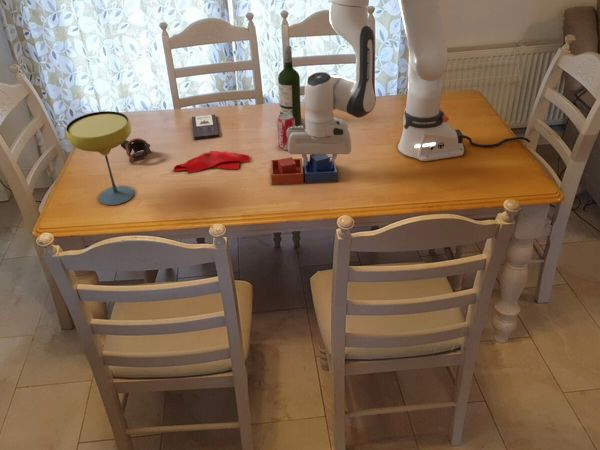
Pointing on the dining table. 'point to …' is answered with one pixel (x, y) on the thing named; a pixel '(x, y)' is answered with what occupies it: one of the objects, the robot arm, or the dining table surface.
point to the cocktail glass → (102, 144)
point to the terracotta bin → (287, 178)
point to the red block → (286, 166)
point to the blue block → (319, 162)
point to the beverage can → (284, 129)
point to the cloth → (213, 161)
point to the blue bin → (320, 174)
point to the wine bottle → (289, 88)
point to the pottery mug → (136, 149)
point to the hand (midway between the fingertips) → (319, 164)
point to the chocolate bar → (205, 127)
